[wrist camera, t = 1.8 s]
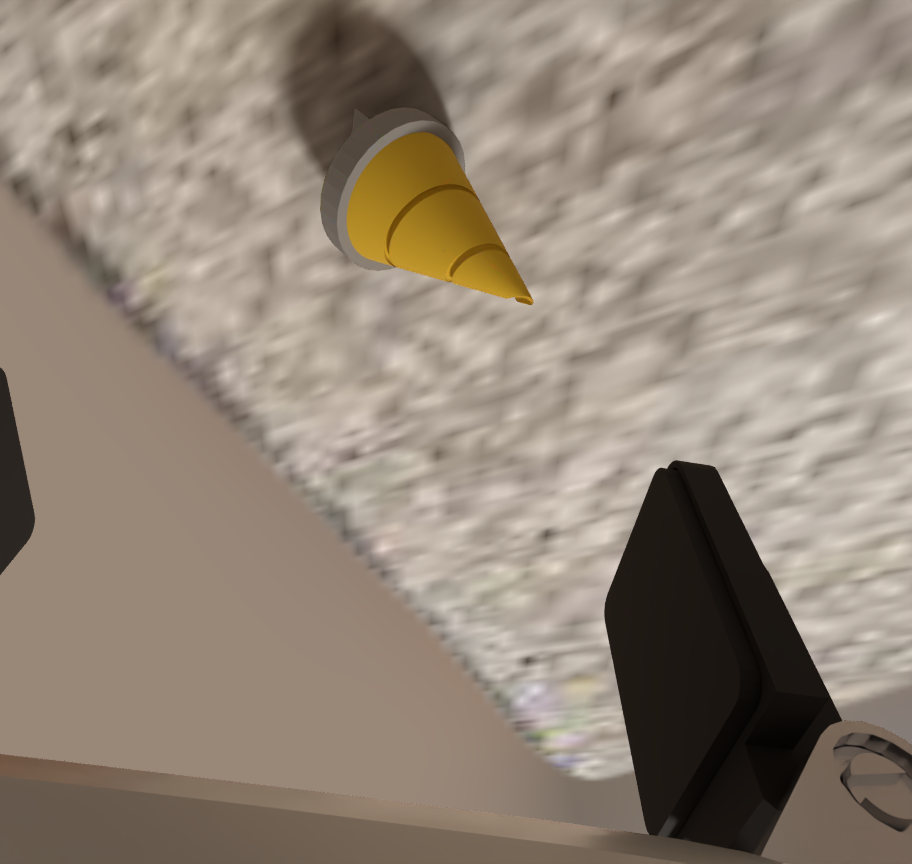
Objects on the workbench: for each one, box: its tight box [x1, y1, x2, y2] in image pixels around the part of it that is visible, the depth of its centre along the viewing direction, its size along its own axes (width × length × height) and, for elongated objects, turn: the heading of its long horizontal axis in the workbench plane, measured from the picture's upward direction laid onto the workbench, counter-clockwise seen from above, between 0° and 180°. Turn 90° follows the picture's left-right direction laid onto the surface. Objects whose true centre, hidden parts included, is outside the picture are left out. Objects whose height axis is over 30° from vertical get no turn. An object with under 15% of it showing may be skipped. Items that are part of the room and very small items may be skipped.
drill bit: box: [320, 107, 533, 305], centre depth 23 cm, size 5×5×10 cm
